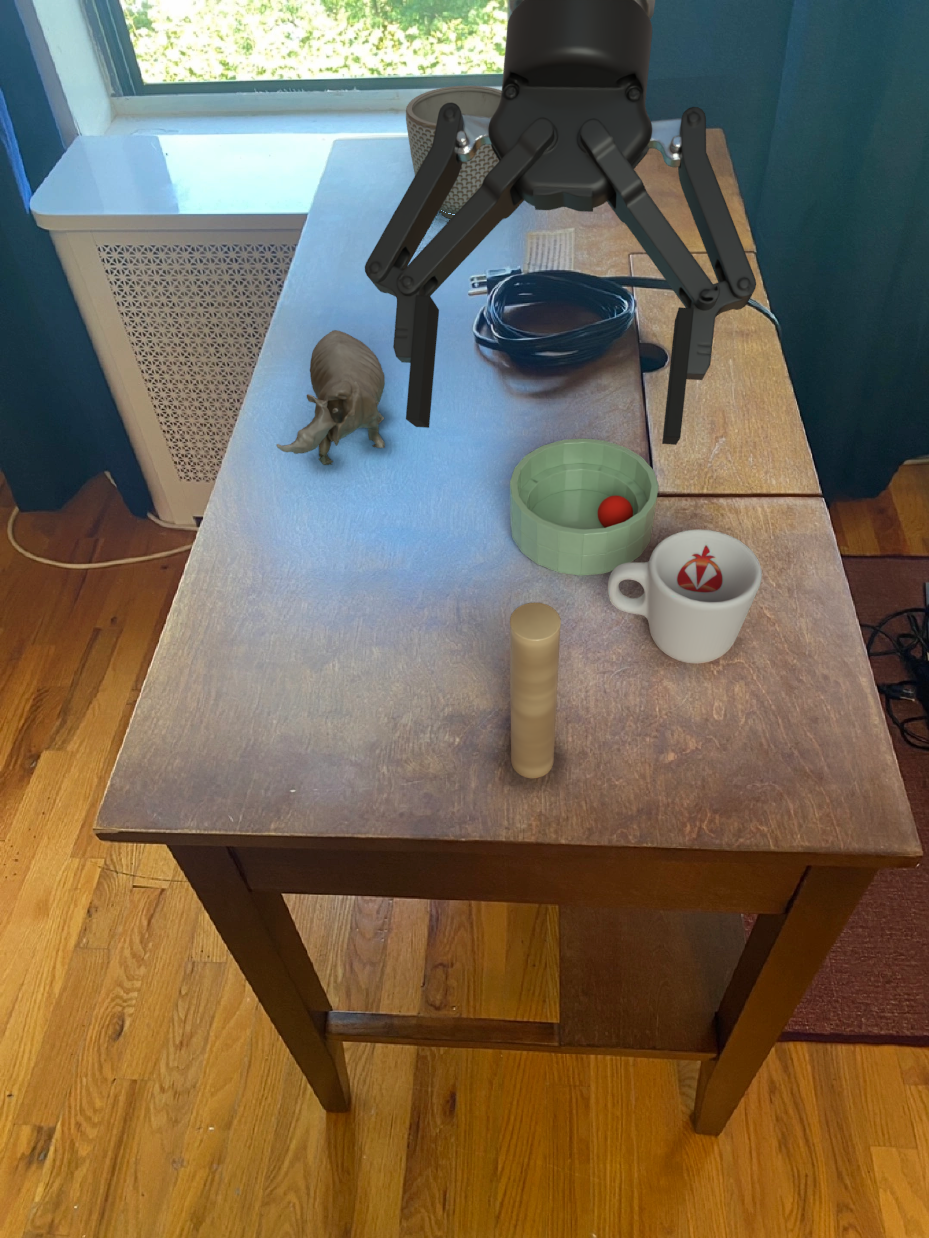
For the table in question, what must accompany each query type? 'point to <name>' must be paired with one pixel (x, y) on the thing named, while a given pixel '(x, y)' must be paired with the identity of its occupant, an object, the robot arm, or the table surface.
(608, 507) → the cherry tomato
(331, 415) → the grey animal figure
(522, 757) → the tan wooden cylinder
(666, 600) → the cup
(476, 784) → the table surface
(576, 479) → the bowl
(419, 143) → the planter
